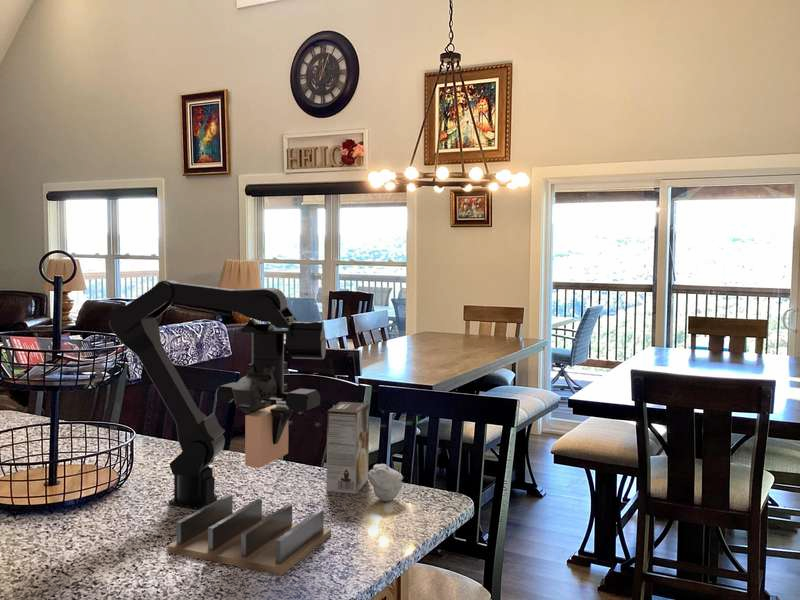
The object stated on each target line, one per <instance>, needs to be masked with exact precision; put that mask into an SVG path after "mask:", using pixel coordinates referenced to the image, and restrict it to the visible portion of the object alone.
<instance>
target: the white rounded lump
mask: <svg viewBox="0 0 800 600" xmlns="http://www.w3.org/2000/svg"><path fill="white" fill-rule="evenodd" d="M367 474H368V480H367V481H368V482H369V483H370V485H371V486H372V488H373V494H374V495H375V497H376V498H377V499H379V500H380V501H382V502H391V501H394V500H395V499H396V498H397V497H398V495H399V493H400V491H401V490H402V486H403V481H402V480H403V479H404V476H403V475H402V474H401V473H400V472H399V471H397V470H395V469H393V468H391V467H389V466H388V465H387V464H385V463H380V464H379V463H375V464H374V465H373V467H372V469H370V470H368V472H367Z"/></svg>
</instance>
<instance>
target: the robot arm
mask: <svg viewBox="0 0 800 600" xmlns="http://www.w3.org/2000/svg"><path fill="white" fill-rule="evenodd" d="M172 304H179V305H187V306H195V307H201V308H203V307H204V308H209V309H217V310H224V311H225V310H226V311H230V312H234V313H237V314H239V315H241V316H243V317H246V318H249V320H248V321H247V323H246V324H245V325H244V326H243V327H241V328H240V330H239V331H240V333H241V334H251V363H249V364H247V368H246V373H245V375H244V376H243V377H241V378H240V379H239V380H238V381H236V382H235V381H234V382H229V383H226V384H222V385H219V386H218V387H217V389H216V391H215V402H217V403H225V404H230V403H232V402H233V401H234V403H235V407H236V409H238V410H239V409H240V410H241V411H242V412H243V413H244V414H245V415H248V414H251V413H253V412H256V411H259V410H261V409H264V408H266V402H271V403H272V402H274V403H276V404H275V405H276V407H275V408H273V409H270V411H271V413H272V415H273V444H277V443H278V442H279V439H280V437H281V435H282V432H283V430H284V428H285V425H286V423H287V421H288V422H289V419H290V418H291V415H292V414H293V412H294V411H299V412H300V411H301V412H304V411H305V412H306V411H310V410H311V409H314V408H316V407H318V406H321V395H320V393H319V391H318V390H317V389H311V388H310V389H309V388H298V389H295V390H291V391H289V392H286V391H287V390H288V383H285V382H284V381H285V379H284V378H285V376H284V375H285V369H287V368H288V361H285V352H286V353H288V355H290V356H291V358H292V359H300V360H301V359H303V360H305V359H306V360H309V359H310V360H324V359H325V357H326V351H327V337H326V330H325V325H324V324H325V323H324V321H323V320H315V321H298V319H297V318H296V316H295V315H294V314H293V312H292V311H291V309H290V308H289V307H288V302H287V297H286V296H285V294H284V292H282V290H280V289H279V288H277V287H263V288H244V289H242V288H241V289H233V288H226V287H217V286H210V285H201V284H195V283H188V282H187V283H186V282H181V281H180V282H178V281H176V280H173V279H172V280H171V279H169V280H168V279H167V280H161V281H158V282H157V283H156V284H155V285H154V286H153V287H152V288H150V289H149V290H148V291H146V292H144V293H143V294H141V295H139V297H137V298H135V299H133V300H132V301H131V302H130V303H128V304H126V305H120V306H117V307H116V308H115V309H114V310H113V311H112V313H111V314H110V318H109V320H108V323H109V324H108V325H109V327H110V329H111V331H112V332H113V334H114V335H115V336H116V337H117V339H118V340H119V341H120V343H122V345H123V346H125V347H126V348H128V350H130V351H131V352H132V353H133V354H135V355H136V357H138V360H139V361H140V363H141V364H142V366H143V368H144V370H145V371H146V374H147V375H148V377H149V378H150V380H151V381H152V384H153V386H154V387H155V389H156V390H157V392H158V394H159V396H160V397H161V399H162V401H163V403H164V404H165V407H166V408H167V410H168V412H169V413H170V415H171V417H172V419H173V421H174V422H175V425H176V426H175V427H176V432H177V434H176V435H177V440H178V444H179V446H180V447H179V448H180V449H181V452H180V453H179V454H178V455H177V456H176V457H175V458H174V459H173V460H172V461H170V463H169V467H170V470H171V474H172V475H173V478H174V479H173V497H174V498H172V499H170V500H168V504H169V505H172V506H178V507H184V508H189V509H198V510H199V509H201V507H202V508H203V507H205V506H207V505H209V504H211V503H212V502H214V501H216V500H218V498H219V497H218V495H217V494H215V481H216V480H215V479H216V478H215V476H213V475H214V474H213V473H214V469H213V467H210V464H213V462H214V460H215V458H216V457H217V456H218V455H219V454H220V453H221V452H222V451H223V449H224V447H225V444H226V439H225V436H224V434H223V433H226V429H224V428H222V426H221V425H220V423H219V421H218V418H217V416H216V414H215V413H213V412H212V413H211V414H210V415H209V416H207V415H206V414H205V413H204V412H202V411H201V410H200V409H199V407H198V406H197V404H196V402H195V401H194V399H193V397H192V396H191V394H190V393H191V392H190V391H189V390H188V388H187V387H186V384H185V382H184V381H183V379H182V377H181V376H180V374H179V373H178V371H177V368H176V367H175V365H174V364H173V362H172V360H171V358H170V356H169V354H168V353H167V351H166V350H165V347H164V346H163V344H162V340H161V333H160V332H161V331H160V326H159V323H158V321H157V319H158V318H159V317H160V316H161V315H163V313H165V312H166V311H167V309H168V308H170V306H171V305H172ZM257 321H259V322H264V323H259V322H257ZM267 322H268V323H267Z"/></svg>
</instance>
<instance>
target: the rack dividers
mask: <svg viewBox="0 0 800 600" xmlns="http://www.w3.org/2000/svg"><path fill="white" fill-rule="evenodd" d="M233 496H234V495H233V494H231V493H227V495H224V496H222V497H221V498H219V499H216V500H214V501H212V502H210V503H208V504H206V505H205V506H203V507H202V508H199V509H198V510H197V511H195V512H193V513H190V514H188V515H187V516H184V517H183V518H181V519H179V520H177V521H175V522H176V525H175V527H176V528H175V529H176V534H175V535H176V537H175V538H176V540H175V541H176V544H178V545H182V544H183V543H185V542H187V541H189V540H190V539H192V538H194V537H195V536H197V535H199V534H201V533H202V532H204V531H206V530H207V529H208V550H209V551H214V550H216V549H217V548H219V547H220V546H222V545H223V544H225V543H226V542H228V541H230V540H231V539H233V538H234V537H236V536H237V535H239V534H240V533H242V532H243V533H242V534H241V557H244V558H246V557H248V556H249V555H250V554H252V553H253V552H255V551H256V550H258V549H259V548H260V547H262V546H263V545H265V544H266V543H267V542H269V541H270V540H272V539H273V538H275V537H276V536H277V535H279V534H280V533H282V532H283V531H284V530H286V529H287V528H289V527H290V526H292V523H293V504H291V503H288V504H285V505H284V506H282V507H280V508H279V509H278V510H276V511H275V512H273V513H271V514H270V515H268V516H266V517H264V518H265V519H264V520H262V517H263V515H262V514H263V499H260V498H257V499H255V500H253V501H252V502H250V503H249V504H247V505H245V506H243V507H242V508H239V509H238V510H236V511H235V512H233ZM232 512H233V514H232ZM324 514H325V509H324V508H318V509H317V510H316V511H314V512H313V513H311V514H310V515H309V516H307V517H306V518H304V519H303V520H301V521H300V522H298V524H297V525H296V526H295V527H293V528H292V529H290V530H289V531H288V532H286V533H285V534H283V535H282V536H281V537H279V538H278V539H276V555H275V564H281V563H283V562H284V561H285V560H287V559H288V558H289V557H290V556H292V555H293V554H294V553H295V552H297V551H298V550H299V549H301V548H302V547H303V546H304V545H306V544H307V543H308V542H309V541H311V540H312V539H313V538H315V537H316V536H317V535H318V534H320V533H321V532H322V531H323V530H324V528H325V526H324V521H325V517H324V516H325V515H324ZM261 520H262V521H261ZM259 521H261V522H259ZM258 522H259V523H258ZM256 523H257V524H256ZM255 524H256V525H255ZM253 525H254V526H253ZM251 526H253V527H251ZM250 527H251V528H250ZM248 528H250V529H248ZM247 529H248V530H247ZM245 530H247V531H245ZM244 531H245V532H244Z"/></svg>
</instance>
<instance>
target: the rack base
mask: <svg viewBox="0 0 800 600" xmlns="http://www.w3.org/2000/svg"><path fill="white" fill-rule="evenodd" d="M233 513H234V512H233V511H232V514H233ZM265 518H266V517H263V516H262V520H264V519H265ZM262 520H261V521H262ZM261 521H259V522H261ZM259 522H258V523H259ZM256 524H257V523H256ZM256 524H255V525H256ZM297 524H299V522H298V523H296V522H292V526H290V527H289V528H287V529H286V530H284V531H283V532H282V533H280V534H279V535H277V536H276V537H275V538H273V539H272V540H270V541H269V542H267V543H266V544H265V545H263V546H262V547H260V548H259V549H258V550H256V551H255V552H253V553H252V554H250V555H249V556H248V557H246V558H244V557H241V534H242V533H243V532H242V533H240V534H239V535H237V536H236V537H234V538H233V539H231V540H230V541H228V542H226V543H225V544H223V545H222V546H220V547H219V548H217V549H216V550H214V551H209V550H208V529H207V530H206V531H204V532H202V533H201V534H199V535H197V536H195V537H194V538H192V539H190V540H189V541H187V542H185V543H183V544H182V545H178V544H176V540H174V541H173V542H172V543H170V544H168V545H167V547H166V548H167V549H166V550H167V553H170V554H176V555H180V556H184V557H189V558H194V559H195V558H196V559H200V560H205V561H210V562H216V563H219V564H220V563H221V564H225V565H228V566H229V565H230V566H236V567H240V568H243V569H244V568H246V569H250V570H255V571H261V572H266V573H270V574H275V575H280V576H283V575H284V574H286V573H287V571H289V570H290V569H292V567H294V566H295V565H297V564H298V563H299V562H300V561H301V560H303V559H304V558H305V557H307V555H309V554H311V552H313V550H315V549H316V548H317V547H318V546H319V545H321V544H322V543H323V542H324V541H326V540H327V539H328V538H329V537H330V536H331V535H332V529H331V528H325V527H324V530H323V531H322V532H321V533H320V534H318V535H317V536H316V537H315V538H313V539H312V540H311V541H309V542H308V543H307V544H306V545H304V546H303V547H302V548H301V549H299V550H298V551H297V552H295V553H294V554H293V555H292V556H290V557H289V558H288V559H287V560H285V561H284V562H283V563H281V564H275V555H276V539H278V538H279V537H281V536H282V535H283V534H285V533H286V532H288V531H289V530H290V529H292V528H293V527H295V526H296V525H297ZM253 526H254V525H253ZM253 526H251V527H253ZM251 527H250V528H251ZM250 528H248V529H250ZM248 529H247V530H248ZM247 530H245V531H247ZM245 531H244V532H245Z"/></svg>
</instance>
